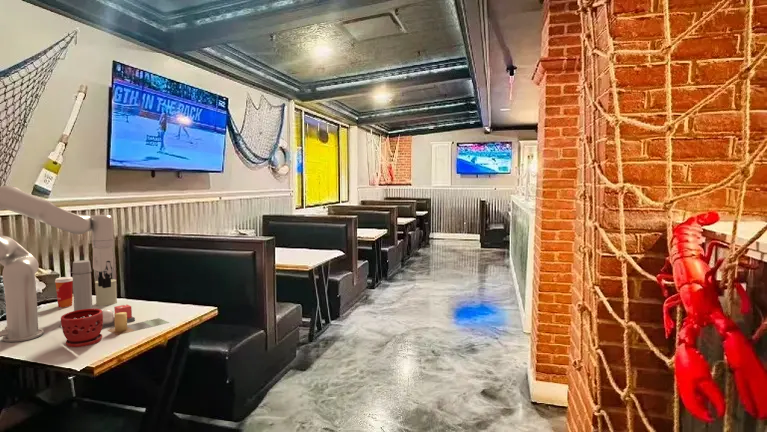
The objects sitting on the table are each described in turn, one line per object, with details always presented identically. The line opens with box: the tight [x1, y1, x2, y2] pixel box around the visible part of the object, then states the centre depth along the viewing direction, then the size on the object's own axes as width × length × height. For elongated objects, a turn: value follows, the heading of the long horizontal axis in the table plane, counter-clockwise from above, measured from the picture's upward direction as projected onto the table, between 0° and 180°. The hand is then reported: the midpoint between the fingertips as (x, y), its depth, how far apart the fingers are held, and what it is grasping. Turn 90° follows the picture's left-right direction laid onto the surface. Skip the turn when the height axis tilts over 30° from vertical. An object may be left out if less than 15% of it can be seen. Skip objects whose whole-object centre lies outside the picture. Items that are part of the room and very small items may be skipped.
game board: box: [107, 317, 170, 336], centre depth 186 cm, size 21×10×1 cm, turn 141°
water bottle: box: [70, 259, 93, 311], centre depth 204 cm, size 9×8×25 cm
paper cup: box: [54, 276, 74, 308], centre depth 218 cm, size 8×8×14 cm
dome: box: [102, 308, 114, 324], centre depth 188 cm, size 6×6×7 cm
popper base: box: [96, 304, 136, 329], centre depth 190 cm, size 14×8×7 cm, turn 141°
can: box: [94, 278, 118, 307], centre depth 224 cm, size 9×9×12 cm
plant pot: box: [60, 308, 103, 348], centre depth 167 cm, size 13×13×12 cm
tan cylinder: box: [113, 312, 128, 332], centre depth 181 cm, size 4×4×7 cm
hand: (104, 286), depth 187 cm, fingers open, 3 cm apart
